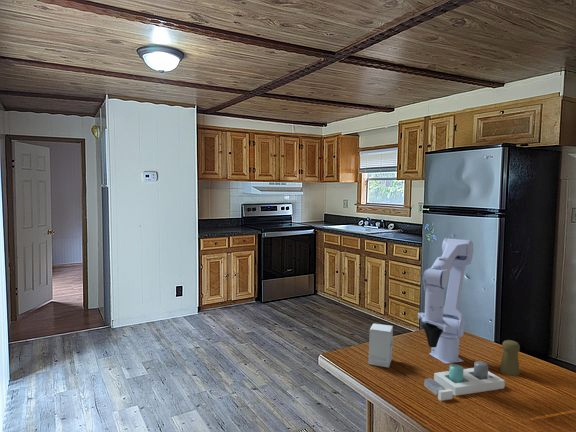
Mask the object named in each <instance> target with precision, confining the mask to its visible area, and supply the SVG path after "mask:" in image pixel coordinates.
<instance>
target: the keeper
mask: <svg viewBox="0 0 576 432" xmlns="http://www.w3.org/2000/svg"><path fill="white" fill-rule="evenodd" d="M437 399H438V402H439V403H442V401H448V400H453V399H454V398H453V391H452V390H451V389H444V390H439V391H438V395H437Z"/></svg>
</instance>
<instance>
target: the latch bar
mask: <svg viewBox="0 0 576 432" xmlns="http://www.w3.org/2000/svg"><path fill="white" fill-rule="evenodd" d="M423 383H424V385H423V386H424V387H425V388H427V389H428V390H429V391H430V392H431V393H433V394H434V395H435V396H438V391H439V390H445V388H444V387H443V386H442V385H440V384H439V383H438V382H436V381H435V380H434V378H432V377H429V378H428V377H427V378H424V382H423Z"/></svg>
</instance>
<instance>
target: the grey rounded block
mask: <svg viewBox="0 0 576 432" xmlns="http://www.w3.org/2000/svg"><path fill="white" fill-rule="evenodd" d="M473 368H474V377H476V378H478V379H479V380H483V379H488V371H489V364H488V363H486V362H484V361H481V360H480V361H477V360H476V361H474V362H473Z"/></svg>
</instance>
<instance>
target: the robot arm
mask: <svg viewBox="0 0 576 432" xmlns="http://www.w3.org/2000/svg"><path fill="white" fill-rule="evenodd" d="M441 250H442V254H441V256H438V257H436V259H435V261H434V262H433V264H432V266H431V267H429V268H427V269H425V270H424V271H423V275H422V276H423V277H422V283H423V291H424V293H425V295H424V312H418V313H417V319H419V320H421V322H423V324H422V325H421V326H422V328H423V331H424V332H425V336H426V340H427V345H428V347H429V348H431V350H430V351H431V352H429V355H430V356H432V358H435V359H438V360H439V361H441V362H442V363H443V364H455V363H459V362H460V363H461V362H464V360H463V359H462V358H460V357H459V353H460V352H459V351H460V338H462V337H463V336H464V334H465V330H466V316H465V315H464V314H463V313H462V312H461V310H459V306H460V300H461V294H462V287H463V282H464V275H465V270H466V267H467V266H469V265H470V264H472V260H473V257H474V256H473V255H474V242H473V241H472V240H471V239H459V238H448V237H445V238H444V239H443V241H442V244H441ZM446 287H447V289H446V296H445V288H446ZM444 299H445V300H444Z"/></svg>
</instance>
